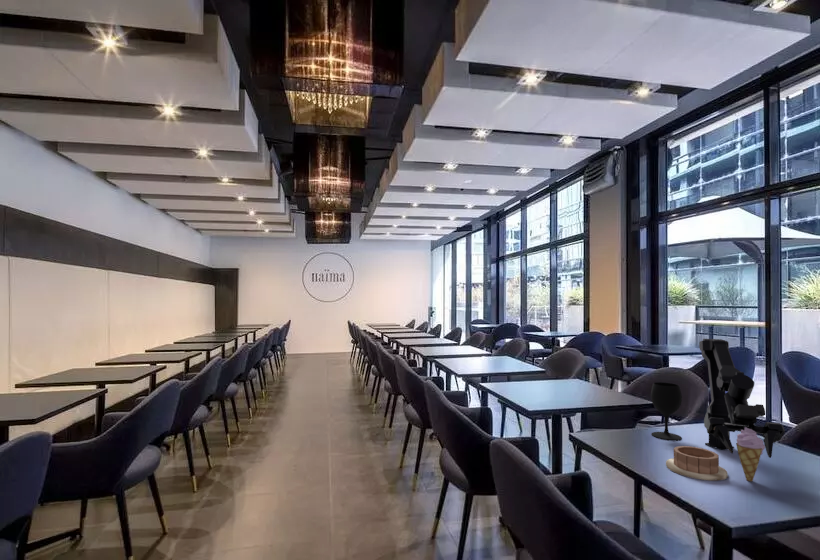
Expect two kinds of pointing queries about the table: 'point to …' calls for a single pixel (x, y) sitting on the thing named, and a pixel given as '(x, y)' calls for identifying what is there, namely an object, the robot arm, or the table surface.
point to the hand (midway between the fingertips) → (751, 454)
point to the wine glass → (666, 405)
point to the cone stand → (696, 464)
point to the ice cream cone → (749, 451)
